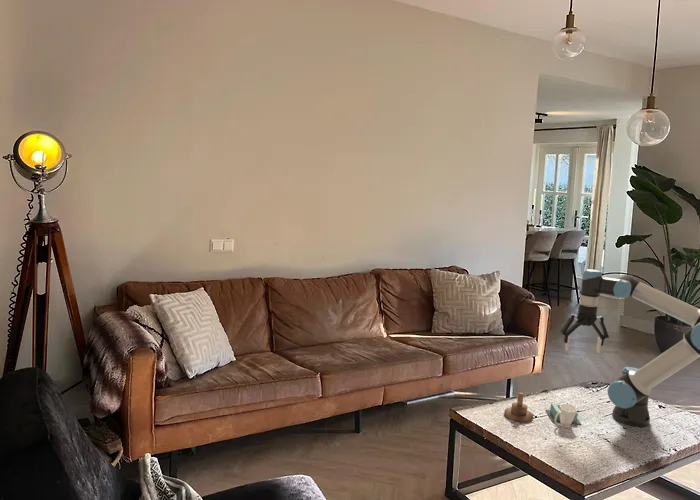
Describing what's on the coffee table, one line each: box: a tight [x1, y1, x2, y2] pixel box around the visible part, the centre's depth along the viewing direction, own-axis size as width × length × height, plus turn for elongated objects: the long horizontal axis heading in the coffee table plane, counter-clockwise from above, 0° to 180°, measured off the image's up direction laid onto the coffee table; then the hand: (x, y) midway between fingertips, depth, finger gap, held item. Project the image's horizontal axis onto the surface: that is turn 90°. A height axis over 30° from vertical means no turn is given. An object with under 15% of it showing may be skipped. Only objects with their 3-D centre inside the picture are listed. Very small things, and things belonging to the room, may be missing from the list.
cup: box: [554, 403, 578, 428], centre depth 249 cm, size 7×10×8 cm
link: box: [549, 402, 579, 422], centre depth 258 cm, size 9×9×4 cm
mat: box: [545, 409, 582, 426], centre depth 258 cm, size 12×12×1 cm
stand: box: [503, 392, 534, 423], centre depth 256 cm, size 12×12×10 cm
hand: (582, 351), depth 260 cm, fingers open, 13 cm apart
